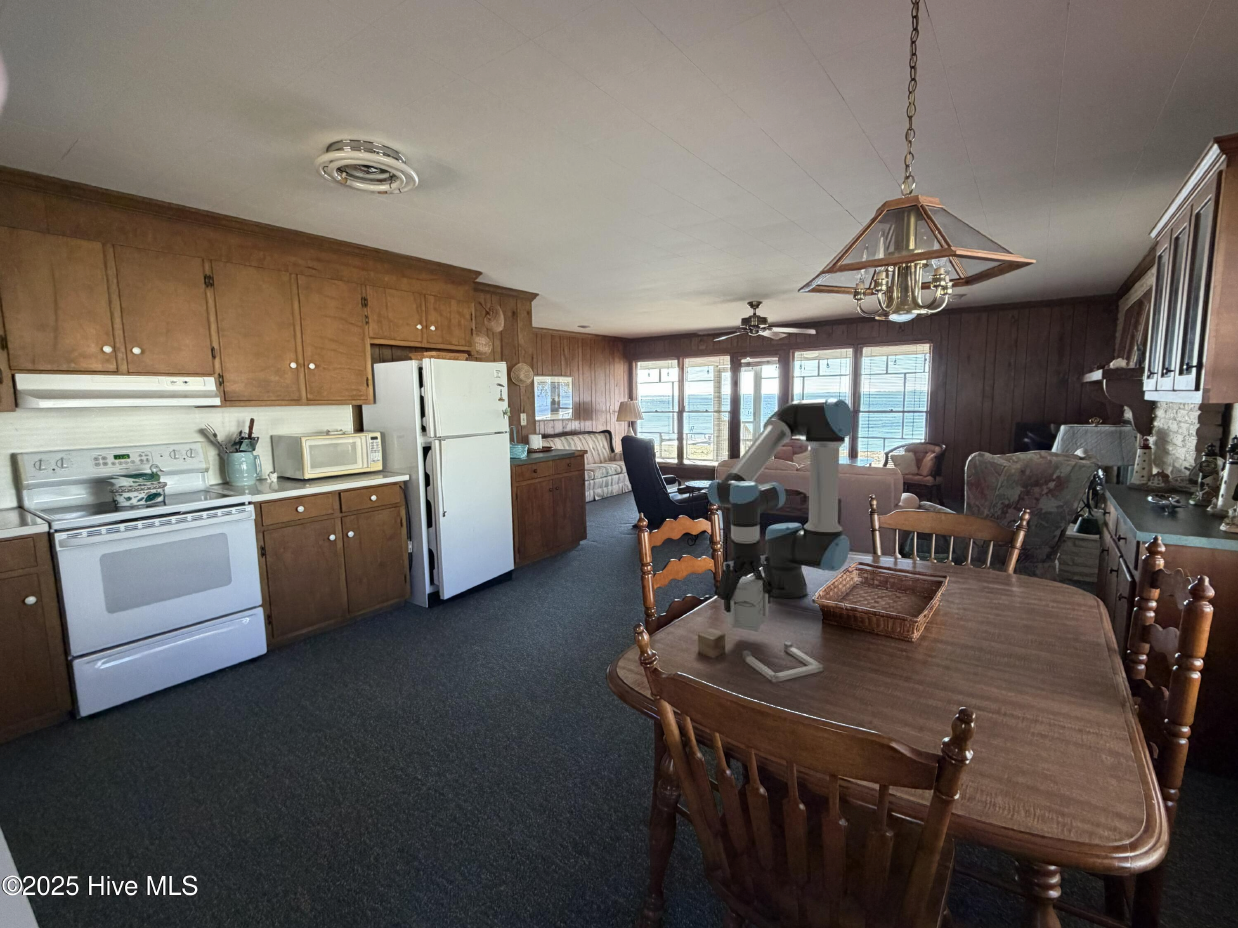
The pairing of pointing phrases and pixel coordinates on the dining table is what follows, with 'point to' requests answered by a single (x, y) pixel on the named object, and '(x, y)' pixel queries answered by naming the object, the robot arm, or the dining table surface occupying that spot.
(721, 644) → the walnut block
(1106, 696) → the dining table surface
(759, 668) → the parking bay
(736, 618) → the supplement box
